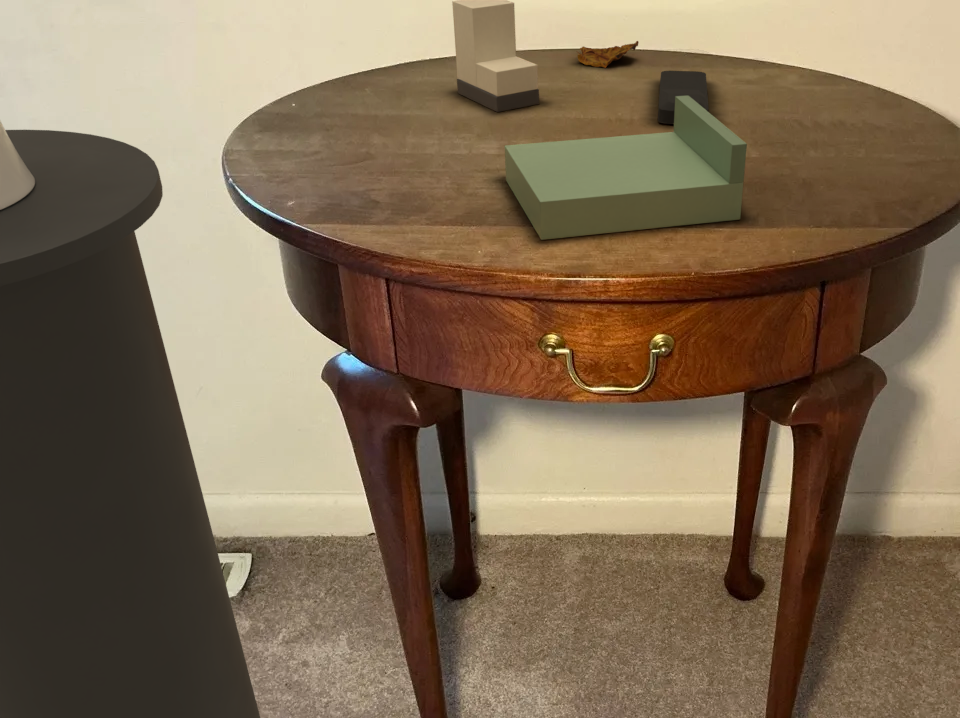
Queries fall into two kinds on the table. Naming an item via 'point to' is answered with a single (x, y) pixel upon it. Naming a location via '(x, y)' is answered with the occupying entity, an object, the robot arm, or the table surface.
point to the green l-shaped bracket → (631, 178)
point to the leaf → (603, 54)
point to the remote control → (680, 91)
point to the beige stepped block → (491, 56)
